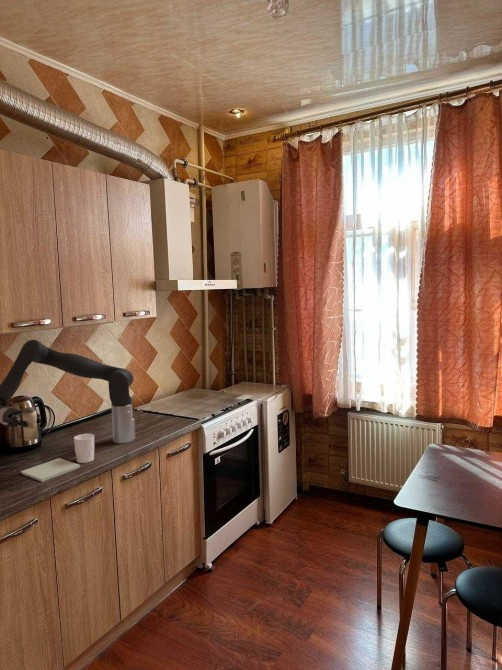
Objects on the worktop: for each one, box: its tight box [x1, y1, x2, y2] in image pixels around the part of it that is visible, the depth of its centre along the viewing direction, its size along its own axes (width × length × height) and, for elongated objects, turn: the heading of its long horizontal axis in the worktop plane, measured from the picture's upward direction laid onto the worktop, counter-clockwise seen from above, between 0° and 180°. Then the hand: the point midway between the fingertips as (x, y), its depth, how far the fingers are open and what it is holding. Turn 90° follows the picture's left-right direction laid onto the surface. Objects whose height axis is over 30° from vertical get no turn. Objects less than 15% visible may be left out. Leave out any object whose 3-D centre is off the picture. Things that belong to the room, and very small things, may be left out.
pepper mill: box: [22, 406, 39, 442], centre depth 181 cm, size 5×5×12 cm
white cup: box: [73, 433, 95, 464], centre depth 186 cm, size 8×8×10 cm
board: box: [20, 457, 81, 483], centre depth 176 cm, size 16×14×1 cm
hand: (33, 422), depth 180 cm, fingers closed on pepper mill, 5 cm apart
